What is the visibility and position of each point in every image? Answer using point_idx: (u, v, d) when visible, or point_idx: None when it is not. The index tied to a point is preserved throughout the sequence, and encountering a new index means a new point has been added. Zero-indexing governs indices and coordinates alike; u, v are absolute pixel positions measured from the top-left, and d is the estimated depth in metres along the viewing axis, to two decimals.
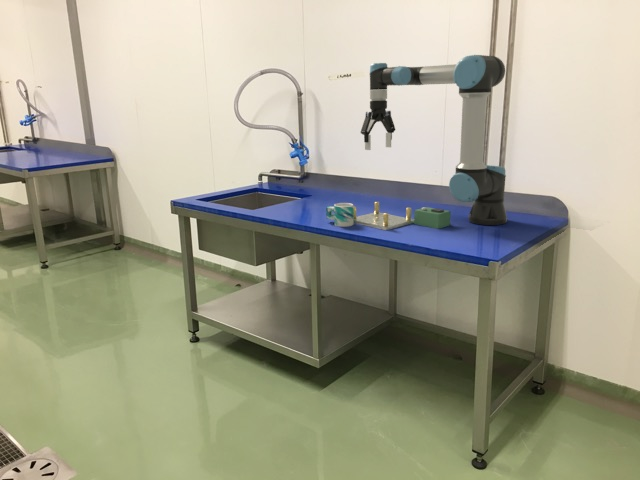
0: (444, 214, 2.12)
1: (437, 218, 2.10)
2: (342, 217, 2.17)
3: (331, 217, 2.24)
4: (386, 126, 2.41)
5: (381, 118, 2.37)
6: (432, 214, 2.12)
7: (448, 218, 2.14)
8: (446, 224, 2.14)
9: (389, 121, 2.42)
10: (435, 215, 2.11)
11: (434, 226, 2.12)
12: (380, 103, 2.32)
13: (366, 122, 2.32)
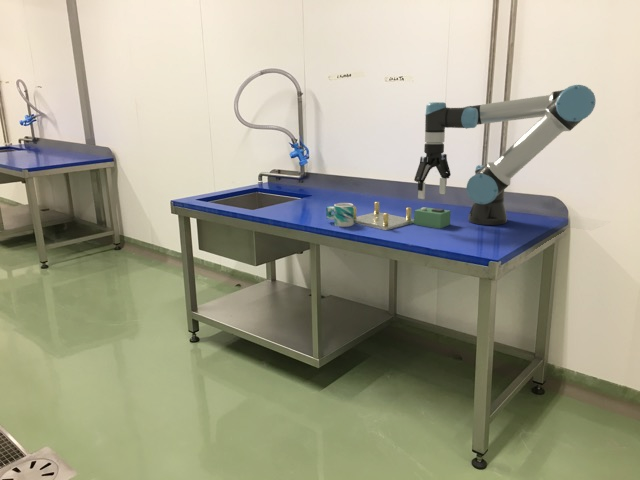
0: (445, 214, 2.13)
1: (439, 218, 2.10)
2: (342, 217, 2.17)
3: (331, 217, 2.24)
4: (441, 171, 2.15)
5: (437, 163, 2.11)
6: (434, 214, 2.12)
7: (448, 217, 2.15)
8: (447, 224, 2.15)
9: (444, 165, 2.16)
10: (437, 215, 2.11)
11: (436, 226, 2.12)
12: (437, 147, 2.06)
13: (421, 168, 2.06)
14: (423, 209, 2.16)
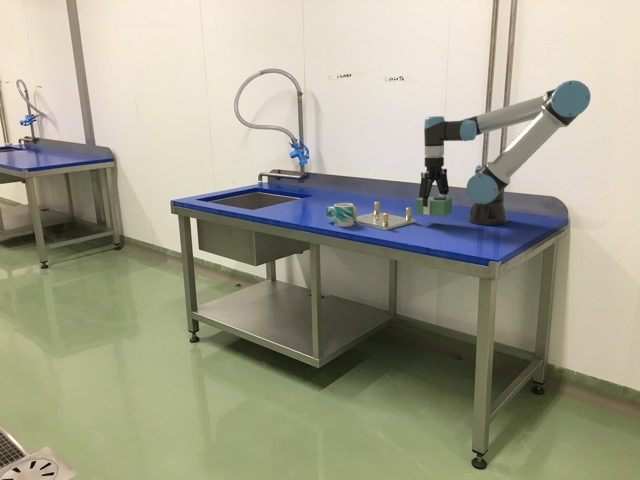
0: (448, 201, 2.12)
1: (443, 205, 2.09)
2: (342, 217, 2.17)
3: (331, 217, 2.24)
4: (440, 186, 2.16)
5: (437, 176, 2.12)
6: (437, 202, 2.10)
7: (450, 205, 2.14)
8: (449, 211, 2.14)
9: (444, 180, 2.17)
10: (440, 203, 2.09)
11: (439, 214, 2.11)
12: (437, 160, 2.07)
13: (423, 185, 2.08)
14: None
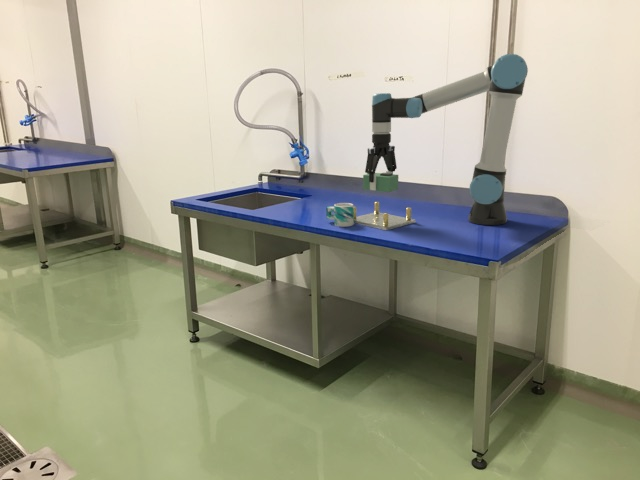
0: (393, 177, 2.16)
1: (388, 181, 2.13)
2: (342, 217, 2.17)
3: (331, 217, 2.24)
4: (387, 163, 2.20)
5: (384, 153, 2.16)
6: (382, 177, 2.14)
7: (396, 181, 2.19)
8: (395, 187, 2.18)
9: (391, 157, 2.21)
10: (386, 178, 2.13)
11: (385, 189, 2.15)
12: (383, 137, 2.11)
13: (369, 160, 2.12)
14: None
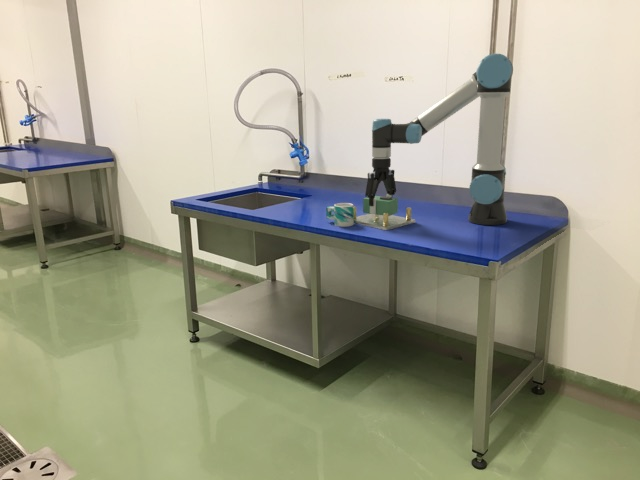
0: (393, 201, 2.18)
1: (387, 205, 2.16)
2: (342, 217, 2.17)
3: (331, 217, 2.24)
4: (387, 187, 2.22)
5: (384, 177, 2.19)
6: (382, 202, 2.17)
7: (396, 205, 2.21)
8: (394, 211, 2.21)
9: (391, 181, 2.23)
10: (385, 202, 2.16)
11: None
12: (383, 161, 2.14)
13: (369, 185, 2.15)
14: None
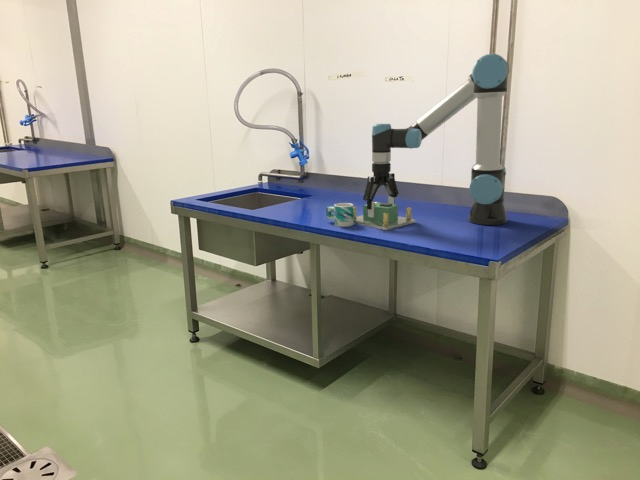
0: (393, 208, 2.19)
1: (387, 212, 2.17)
2: (342, 217, 2.17)
3: (331, 217, 2.24)
4: (389, 190, 2.23)
5: (384, 181, 2.19)
6: (382, 208, 2.18)
7: (396, 211, 2.22)
8: (395, 217, 2.21)
9: (392, 184, 2.24)
10: (385, 209, 2.17)
11: None
12: (383, 166, 2.14)
13: (368, 188, 2.15)
14: None
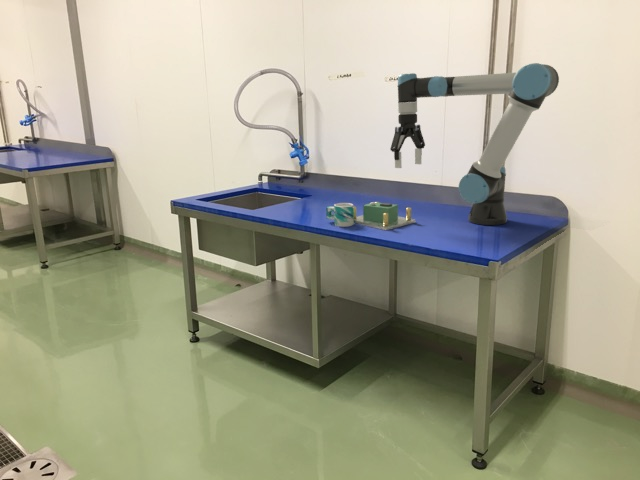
0: (393, 208, 2.19)
1: (387, 212, 2.17)
2: (342, 217, 2.17)
3: (331, 217, 2.24)
4: (416, 141, 2.22)
5: (411, 133, 2.18)
6: (382, 208, 2.18)
7: (396, 211, 2.22)
8: (395, 217, 2.21)
9: (418, 136, 2.23)
10: (385, 209, 2.17)
11: None
12: (410, 116, 2.13)
13: (396, 138, 2.13)
14: (372, 204, 2.22)
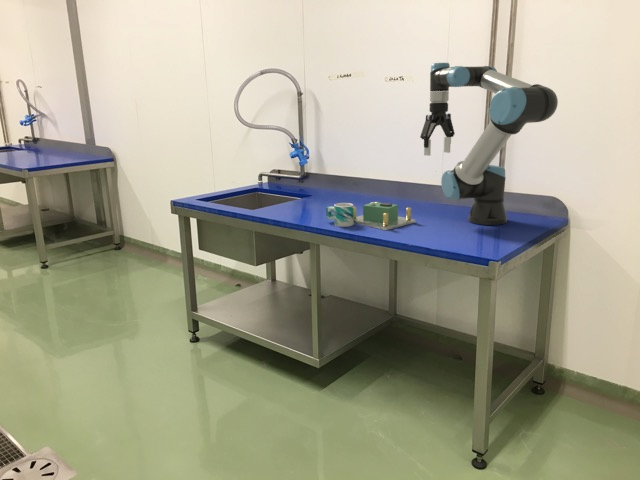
0: (393, 208, 2.19)
1: (387, 212, 2.17)
2: (342, 217, 2.17)
3: (331, 217, 2.24)
4: (445, 130, 2.27)
5: (441, 121, 2.22)
6: (382, 208, 2.18)
7: (396, 211, 2.22)
8: (395, 217, 2.21)
9: (448, 125, 2.27)
10: (385, 209, 2.17)
11: None
12: (441, 105, 2.17)
13: (427, 126, 2.17)
14: (372, 204, 2.22)
